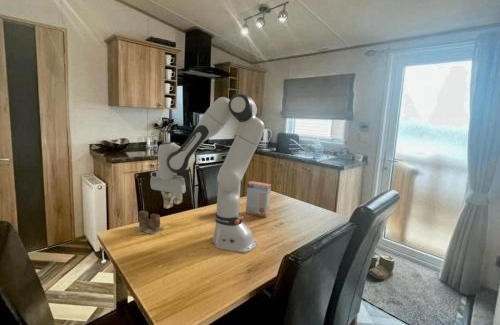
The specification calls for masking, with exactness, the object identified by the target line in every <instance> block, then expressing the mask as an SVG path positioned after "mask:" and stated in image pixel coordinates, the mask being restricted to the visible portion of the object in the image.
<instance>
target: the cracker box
mask: <svg viewBox="0 0 500 325" xmlns="http://www.w3.org/2000/svg"><path fill="white" fill-rule="evenodd" d="M246 188H247V190H246V205H245V209H246V210H245V214H247V215H251V216H255V217H260V218H264V219H266V218H267V217H269V215H270V206H271V205H270V204H271V193H272V192H271V191H272V184H270V183H264V182H261V181H254V180H251V181H248V182H247V187H246Z"/></svg>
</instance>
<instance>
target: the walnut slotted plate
mask: <svg viewBox="0 0 500 325" xmlns="http://www.w3.org/2000/svg"><path fill="white" fill-rule="evenodd" d="M149 216H150V219H149ZM162 229H163V230H164V227H163V226H161V215H160V214H158V213H152V214H150V215H149V211H146V210H140V211H138V226H136V227H135V228H134V230H136V231H138V232H142V231H143V233H145V232H146V233H145V234H149V233H150V234H149V235H152V234H153V235H155V234H157V233H159V232H161V231H162ZM160 230H161V231H160ZM158 231H159V232H158ZM156 232H157V233H156ZM154 233H155V234H154Z"/></svg>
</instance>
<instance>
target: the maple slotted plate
mask: <svg viewBox="0 0 500 325" xmlns="http://www.w3.org/2000/svg"><path fill="white" fill-rule="evenodd" d="M169 197H171V194H170V192H165V193H164V199H163V208H164V209H169V208H173V207H174V205H179V204H181V203H183V194H176V193H175V195H174V197H173V200H172V201H170V200H169Z"/></svg>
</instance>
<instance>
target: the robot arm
mask: <svg viewBox="0 0 500 325" xmlns="http://www.w3.org/2000/svg"><path fill="white" fill-rule="evenodd" d="M258 114H259V107H258V105H257V103H256V102H255V101H254V100H253V98H251V97H250V96H248V95H246V94H244V93H237V94H234V95H233V96H232V97H231V98H227V97H225V96H220V97H218V98H217V99H216V100H215V101H214V102H213V103H212V104H211V105H210V106H209V107H208V108H207V109H206V111H205V112H204V114H203V115H202V116H201V118H200V120H199V122H198V123H197V125H196V126H195V127H194V129H193V131H192V132H191V134H189V136H188V137H187V138H186V140H185V141H184V143H183V144H181V146H180V145H178V144H176V142H173V141H169V142H167V141H166V142H164V143H161V144H159V146H158V150H157V161H158V169H157V170H154V171H151V172H150V180H149V182H150V184H149V185H150V188H151V190H154V191H159V192H160V193H161V195H162V200H164V193H165V192H170V194H171V197H169V200H170V201H172V200H173V201H174V198H173V197H174V195H175V193H176V194H182V195H184V194H185V193H186V191H187V189H186V188H187V187H186V182H185V180H186V179H185V177H183V175H177V174H182V173H184V172H185V171H186V170H187V169H189V168H190V167H192V166H193V165H194V164H195V161H196V155H195V152H196V151H197V150H198V148H199V147H200V146H201V145H202V144H203V143H204V142H206V141H207V140H209V139H210V138H212V137H214V136H216V135H217V134H218V133H219V132H221V131H222V129H223V128H224V127H225V126H226V125H227V123H228V121H229V120H231V119H232V118H235V119H236V120H237V121H238V123H240V128H239V130H238V132H237V134H236V136H235V138H234V140H233V142H232V144H231V146H230V147H229V150H228V152H227V155H226V157H225V159H224V161H223V163H222V165H221V167H220V168H219V171H218V173H217V177H216V180H217V184H218V187H217V197H216V199H217V200H216V212H215V220H214V221H215V228H214V233H213V236H212V237H211V238H212V239H211V240H212V243H213V244H214V245H215V248H216V249H221V250H224V251H225V250H228V251H232V252H239V253H245V254H246V253H249V252H251V251H253V250H254V249H255V248H256V246H257V244H258V242H257V241H258V240H257V239H256V238H254V235H253V231H252V230H251V229H250V228H249V226H247V225H246V224H245V223H244V222H243V219H244V215H242V216H241V215H240V200H241V182H242V180H243V179H244V176H245V175H246V174H245V173H246V171H247V169H248V167H249V164H250V162H251V160H252V158H253V156H254V154H255V152H256V150H257V148H258V146H259V144H260V142H261V140H262V137H263V134H264V131H265V124H264V122H263V121H262V120H261V118H258V117H257V116H258Z"/></svg>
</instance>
